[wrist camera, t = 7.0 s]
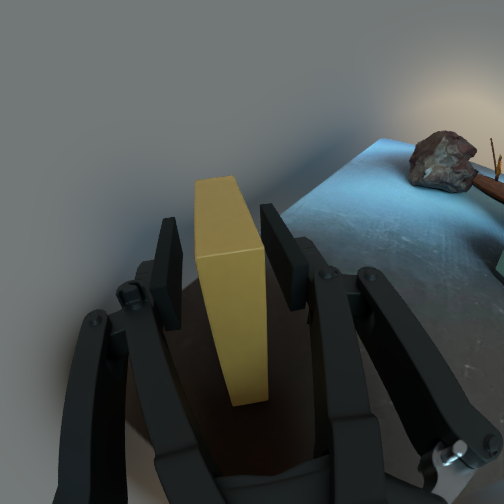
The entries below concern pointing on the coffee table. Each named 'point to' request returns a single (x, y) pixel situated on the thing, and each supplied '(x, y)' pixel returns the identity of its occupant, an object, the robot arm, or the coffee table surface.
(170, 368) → the robot arm
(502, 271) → the toaster
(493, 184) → the incense holder
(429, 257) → the coffee table surface
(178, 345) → the coffee table surface
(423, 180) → the mineral specimen
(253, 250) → the toast
